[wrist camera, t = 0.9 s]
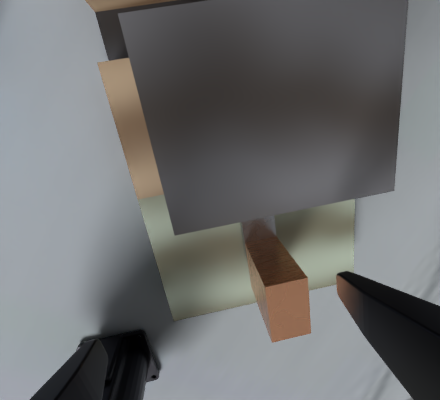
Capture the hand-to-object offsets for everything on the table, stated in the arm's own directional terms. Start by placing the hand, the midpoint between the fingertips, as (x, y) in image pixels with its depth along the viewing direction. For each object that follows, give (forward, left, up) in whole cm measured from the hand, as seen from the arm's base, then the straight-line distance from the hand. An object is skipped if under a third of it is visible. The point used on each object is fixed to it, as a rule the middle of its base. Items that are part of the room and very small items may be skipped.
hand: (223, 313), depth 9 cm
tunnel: (+4, -4, -12) cm, 13 cm away
